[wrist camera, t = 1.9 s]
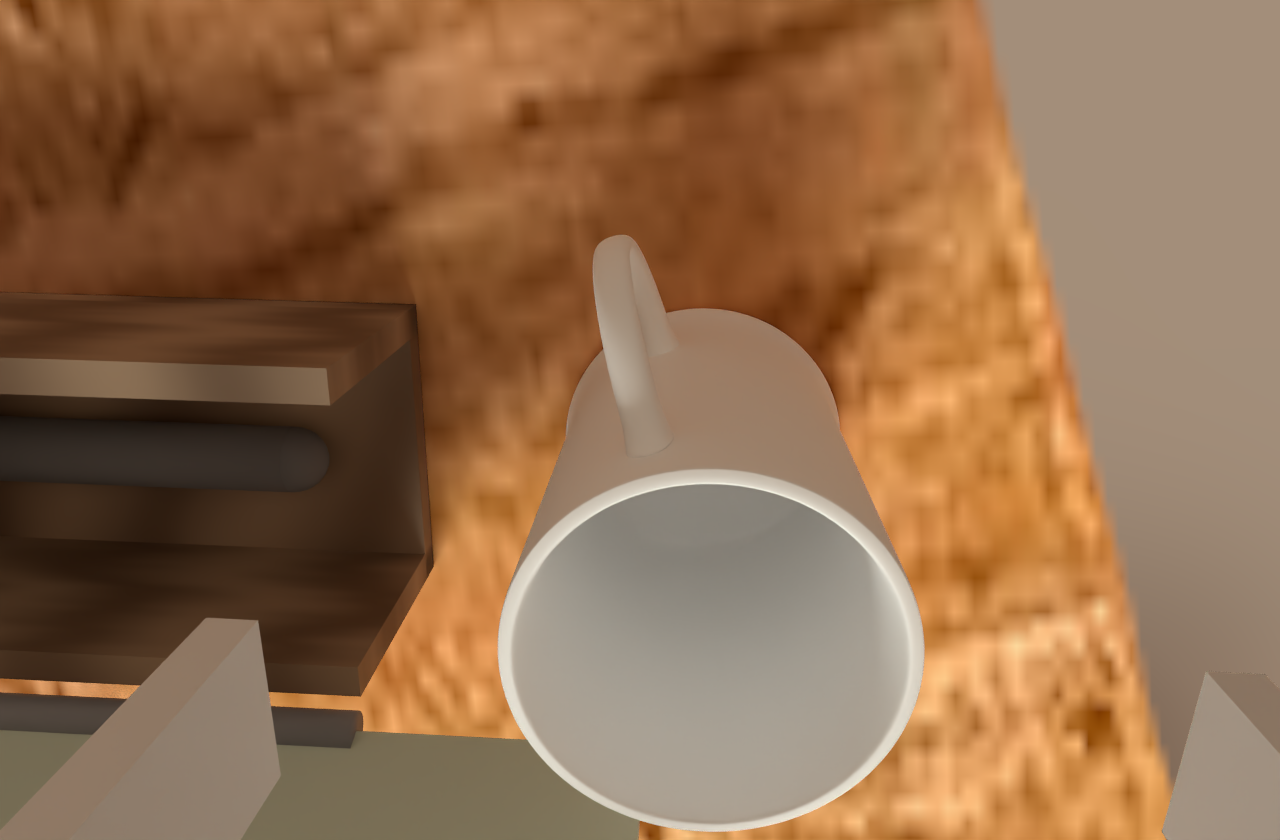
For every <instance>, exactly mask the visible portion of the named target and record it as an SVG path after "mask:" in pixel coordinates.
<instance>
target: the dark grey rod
mask: <svg viewBox="0 0 1280 840" xmlns="http://www.w3.org/2000/svg"><path fill="white" fill-rule="evenodd" d="M329 459H330V458H329V452H328V448H327V446H326V444H325V443H324V441H323V439H322V438H321V437H320V436H319V435H317V434H316V433H315V432H313V431H311V430H309V429H306V428H303V427H293V426H265V425H238V424H210V423H182V422H155V421H127V420H99V419H71V418H44V417H16V416H0V481H17V482H42V483H67V484H92V485H118V486H143V487H168V488H193V489H219V490H244V491H269V492H301V491H305V490H308V489H310V488H312V487H314V486H315V485H316V484H318V483H319V482H320V481H321V480H322V478H323V477H324V476H325V474H326V472H327V470H328V467H329Z"/></svg>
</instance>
